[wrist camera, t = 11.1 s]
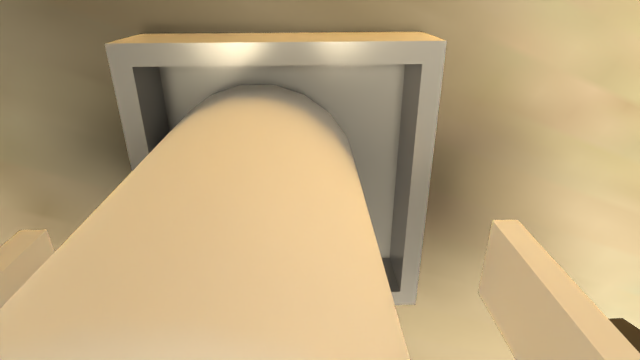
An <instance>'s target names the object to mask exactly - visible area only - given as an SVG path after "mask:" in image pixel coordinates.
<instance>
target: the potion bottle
mask: <svg viewBox="0 0 640 360" xmlns="http://www.w3.org/2000/svg"><path fill="white" fill-rule="evenodd" d="M0 360H410V357H409V354H408V350H407V347H406V343H405V340H404V336H403V333H402V329H401V326H400V322H399V318H398V315H397V311H396V308H395V304H394V301H393V297H392V294H391V290H390V287H389V283H388V279H387V276H386V272H385V269H384V265H383V262H382V258H381V255H380V251H379V248H378V244H377V241H376V237H375V233H374V230H373V226H372V223H371V219H370V216H369V212H368V209H367V205H366V202H365V198H364V194H363V191H362V187H361V184H360V180H359V177H358V173H357V170H356V166H355V163H354V159H353V156H352V153H351V150H350V146H349V143H348V140H347V137H346V135H345V134H344V132H343V131H342V130H341V128H340V127H339V126H338V124H337V123H336V121H335V120H334V119H333V117H332V116H331V115H330V113H329V112H327V111H326V110H325V109H323V108H322V107H320V106H319V105H318V104H316V103H315V102H313V101H312V100H311V99H309V98H308V97H306V96H305V95H304V94H300V93H297V92H294V91H291V90H288V89H285V88H282V87H279V86H275V85H239V86H236V87H233V88H230V89H227V90H224V91H221V92H218V93H215V94H212V95H211V96H209V97H208V98H207V99H205V100H204V101H203V102H202V103H200V104H199V105H198V106H196V107H195V108H194V109H193V110H191V111H190V112H189V113H188V114H187V115H186V116H185V117H184V118H183V119H182V120H181V121H180V122H179V123H178V124H177V125H176V126H175V127H174V128H173V129H172V130H171V131H170V132H169V133H168V134H167V135H166V136H165V138H164V139H163V140H162V141H161V142H160V143H159V144H158V145H157V146H156V147H155V148H154V149H153V150H152V151H151V152H150V153H149V154H148V155H147V156H146V157H145V158H144V159H143V160H142V162H141V163H140V164H139V165H138V166H137V167H136V168H135V169H134V170H133V171H132V172H131V173H130V174H129V175H128V176H127V177H126V178H125V179H124V180H123V181H122V182H121V183H120V184H119V186H118V187H117V188H116V189H115V190H114V191H113V192H112V193H111V194H110V195H109V196H108V197H107V198H106V199H105V200H104V201H103V202H102V203H101V204H100V205H99V206H98V207H97V208H96V210H95V211H94V212H93V213H92V214H91V215H90V216H89V217H88V218H87V219H86V220H85V221H84V222H83V223H82V224H81V225H80V226H79V227H78V228H77V229H76V230H75V231H74V232H73V234H72V235H71V236H70V237H69V238H68V239H67V240H66V241H65V242H64V243H63V244H62V245H61V246H60V247H59V248H58V249H57V250H56V251H55V252H54V253H53V254H52V255H51V256H50V257H49V259H48V260H47V261H46V262H45V263H44V264H43V265H42V266H41V267H40V268H39V269H38V270H37V271H36V272H35V273H34V274H33V275H32V276H31V277H30V278H29V279H28V280H27V281H26V283H25V284H24V285H23V286H22V287H21V288H20V289H19V290H18V291H17V292H16V293H15V294H14V295H13V296H12V297H11V298H10V299H9V300H8V301H7V302H6V303H5V304H4V305H3V307H2V308H1V309H0Z"/></svg>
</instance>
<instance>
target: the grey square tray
mask: <svg viewBox="0 0 640 360" xmlns="http://www.w3.org/2000/svg"><path fill="white" fill-rule="evenodd" d="M104 44H105V49H106V54H107V58H108V63H109V68H110V72H111V77H112V82H113V86H114V91H115V96H116V100H117V105H118V110H119V114H120V119H121V124H122V128H123V133H124V138H125V142H126V147H127V152H128V156H129V161H130V166H131V170H132V171H133V170H134V169H135V168H136V167H137V166H138V165H139V164H140V163H141V162H142V160H143V159H144V158H145V157H146V156H147V155H148V154H149V153H150V152H151V151H152V150H153V149H154V148H155V147H156V146H157V145H158V144H159V143H160V142H161V141H162V140H163V139H164V138H165V136H166V135H167V134H168V133H169V132H170V131H171V130H172V129H173V128H174V127H175V126H176V125H177V124H178V123H179V122H180V121H181V120H182V119H183V118H184V117H185V116H186V115H187V114H188V113H189V112H190V111H191V110H193V109H194V108H195V107H196V106H198V105H199V104H200V103H202V102H203V101H204V100H205V99H207V98H208V97H209V96H211V95H212V94H215V93H218V92H221V91H224V90H227V89H230V88H233V87H236V86H239V85H275V86H279V87H282V88H285V89H288V90H291V91H294V92H297V93H300V94H304V95H305V96H306V97H308V98H309V99H311V100H312V101H313V102H315V103H316V104H318V105H319V106H320V107H322V108H323V109H325V110H326V111H327V112H329V113H330V115H331V116H332V117H333V119H334V120H335V121H336V123H337V124H338V126H339V127H340V128H341V130H342V131H343V132H344V134H345V135H346V137H347V140H348V143H349V146H350V150H351V153H352V156H353V159H354V163H355V166H356V170H357V173H358V177H359V180H360V184H361V187H362V191H363V194H364V198H365V202H366V205H367V209H368V212H369V216H370V219H371V223H372V226H373V230H374V233H375V237H376V241H377V244H378V248H379V251H380V255H381V258H382V262H383V265H384V269H385V272H386V276H387V279H388V283H389V287H390V290H391V294H392V297H393V301H394V304H395V305H416V297H417V288H418V280H419V272H420V263H421V255H422V246H423V238H424V230H425V221H426V213H427V204H428V196H429V188H430V179H431V171H432V162H433V154H434V146H435V137H436V129H437V120H438V112H439V104H440V95H441V87H442V78H443V70H444V62H445V53H446V45H447V41H446V40H444V39H441V38H438V37H435V36H433V35H430V34H427V33H424V32H301V33H169V34H138V35H134V36H130V37H127V38H123V39H119V40H116V41H112V42H108V43H104Z"/></svg>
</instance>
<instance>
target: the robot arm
mask: <svg viewBox="0 0 640 360" xmlns="http://www.w3.org/2000/svg"><path fill="white" fill-rule="evenodd" d="M53 253H54V249H53V246H52V243H51V240H50V237H49V234H48V231H47V229H39V230H19V231H18V232H17V233H16V234H15V235H14V236H12V237H11V238H10V239H9V240H8V241H7V242H5V243H4V244H3V245H2V246H1V247H0V309H1V308H2V307H3V305H4V304H5V303H6V302H7V301H8V300H9V299H10V298H11V297H12V296H13V295H14V294H15V293H16V292H17V291H18V290H19V289H20V288H21V287H22V286H23V285H24V284H25V283H26V281H27V280H28V279H29V278H30V277H31V276H32V275H33V274H34V273H35V272H36V271H37V270H38V269H39V268H40V267H41V266H42V265H43V264H44V263H45V262H46V261H47V260H48V259H49V257H50V256H51V255H52V254H53ZM478 294H479V296H480V297H481V299H482V301H483V303H484V304H485V306H486V308H487V310H488V312H489V313H490V315H491V317H492V319H493V320H494V322H495V324H496V326H497V327H498V329H499V331H500V333H501V335H502V336H503V338H504V340H505V342H506V343H507V345H508V347H509V349H510V350H511V352H512V354H513V356H514V358H515V359H516V360H640V329H638V328H637V327H635V326H634V325H632V324H630V323H629V322H627V321H626V320H624V319H623V318H617V319H608V318H607V317H606V316H605V315H604V314H603V313H602V311H601V310H600V309H599V308H598V307H597V306H596V305H595V304H594V303H593V302H592V301H591V299H590V298H589V297H588V296H587V295H586V294H585V293H584V292H583V291H582V290H581V288H580V287H579V286H578V285H577V284H576V283H575V282H574V281H573V280H572V279H571V278H570V276H569V275H568V274H567V273H566V272H565V271H564V270H563V269H562V268H561V267H560V266H559V264H558V263H557V262H556V261H555V260H554V259H553V258H552V257H551V256H550V255H549V253H548V252H547V251H546V250H545V249H544V248H543V247H542V246H541V245H540V244H539V243H538V241H537V240H536V239H535V238H534V237H533V236H532V235H531V234H530V233H529V232H528V230H527V229H526V228H525V227H524V226H523V225H522V224H521V223H520V222H519V221H518V220H517V219H516V220H492V224H491V229H490V234H489V239H488V244H487V249H486V254H485V259H484V264H483V269H482V274H481V279H480V284H479V289H478Z"/></svg>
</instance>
